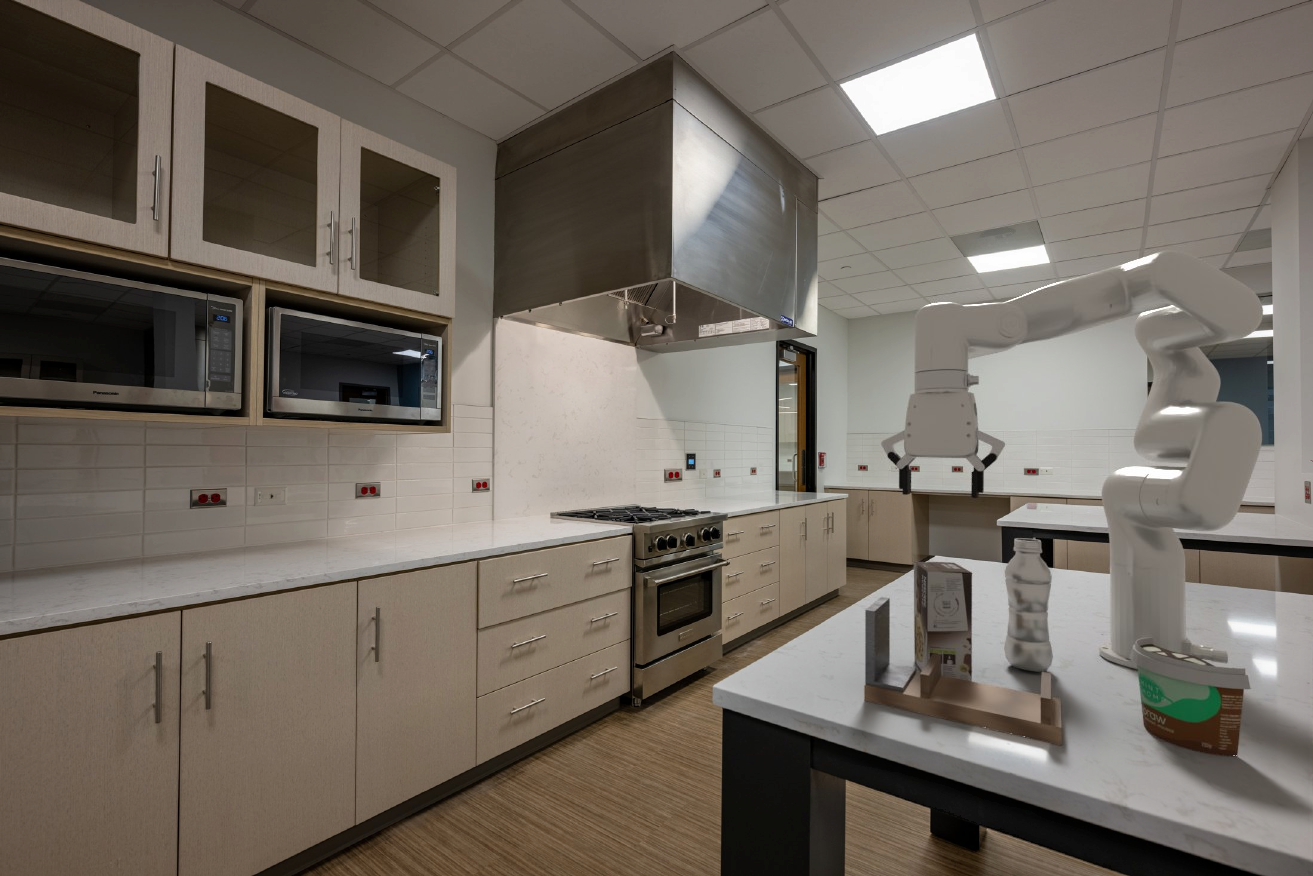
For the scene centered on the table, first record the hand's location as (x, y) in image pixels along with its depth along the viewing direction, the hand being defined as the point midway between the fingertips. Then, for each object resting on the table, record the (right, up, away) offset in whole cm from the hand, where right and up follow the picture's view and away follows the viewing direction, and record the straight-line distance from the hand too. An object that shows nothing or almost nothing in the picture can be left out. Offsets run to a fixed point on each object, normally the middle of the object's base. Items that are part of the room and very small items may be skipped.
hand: (940, 495), depth 93 cm
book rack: (-4, -26, -14) cm, 30 cm away
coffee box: (0, -27, -1) cm, 27 cm away
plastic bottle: (+14, -27, +1) cm, 31 cm away
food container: (+17, -27, -22) cm, 38 cm away
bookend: (-11, -24, -9) cm, 28 cm away
